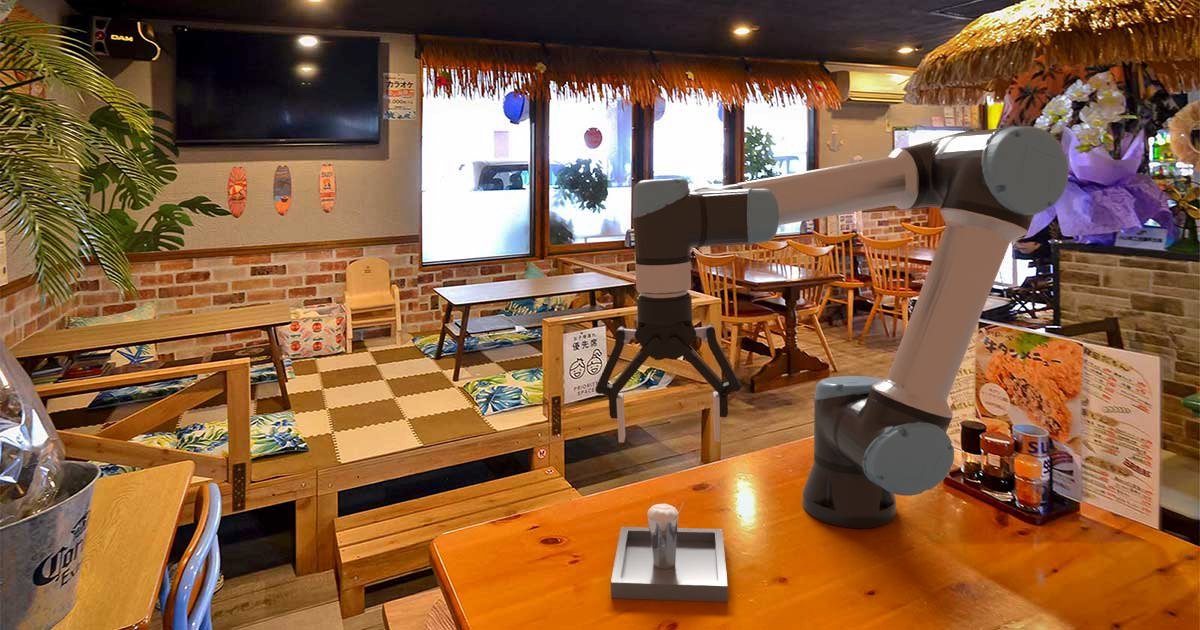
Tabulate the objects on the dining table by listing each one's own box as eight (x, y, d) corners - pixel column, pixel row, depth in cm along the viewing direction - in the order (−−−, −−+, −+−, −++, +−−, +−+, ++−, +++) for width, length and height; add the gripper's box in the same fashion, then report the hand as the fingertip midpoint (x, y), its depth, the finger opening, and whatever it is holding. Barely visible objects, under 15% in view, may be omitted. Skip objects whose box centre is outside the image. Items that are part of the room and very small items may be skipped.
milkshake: (683, 573, 103) (682, 509, 102) (646, 570, 104) (645, 507, 103) (686, 557, 108) (685, 495, 106) (651, 554, 109) (649, 493, 107)
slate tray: (722, 542, 113) (722, 529, 113) (727, 602, 98) (727, 586, 97) (621, 540, 115) (621, 526, 115) (611, 598, 100) (610, 582, 99)
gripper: (753, 285, 100) (755, 428, 105) (578, 291, 104) (586, 430, 108) (758, 294, 93) (760, 448, 97) (570, 300, 96) (579, 448, 100)
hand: (669, 438), depth 102 cm, fingers open, 13 cm apart
